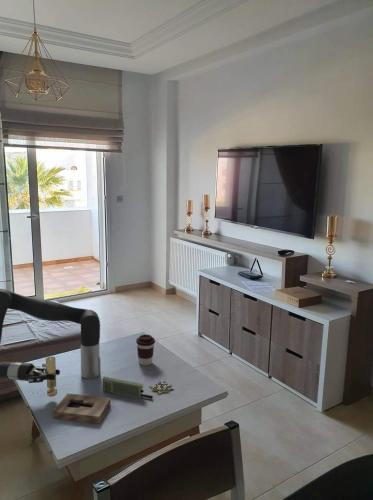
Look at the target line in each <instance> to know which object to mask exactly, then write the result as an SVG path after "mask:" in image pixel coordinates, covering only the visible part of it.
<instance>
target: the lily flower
mask: <svg viewBox="0 0 373 500" xmlns="http://www.w3.org/2000/svg"><path fill="white" fill-rule="evenodd" d="M162 382H163V383H166V384H161V383H162ZM156 383H158V385H161V386H160V388H161V390H159V389H160V388H159V389H157V388H158V387H157V386H158V385H157V384H154V385H156V387H154V388H152V387H150V388H151V389H152V390H151V391H152V392H155V391H156V393H157V395H160V394H163V393H167V392H168V393H167V394H169V391H170V390H169V389H168V387H171V386H167V385H168V384H169V383H167V381H166V380H164V381H159V382H156ZM162 385H166V386H167V388H166V389H165V390H164V389H163V388H164V387H163V386H162ZM158 391H160V392H161V391H164V392H161V393H160V394H159V392H158ZM166 391H167V392H166Z"/></svg>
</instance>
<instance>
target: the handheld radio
mask: <svg viewBox="0 0 373 500" xmlns="http://www.w3.org/2000/svg"><path fill="white" fill-rule="evenodd" d="M144 385H145V384H143V383H140V382H139V383H138V382H134V381H130V380H124V379H120V378H115V377H114V378H113V377H108V376H103V377H102V391H103V392H109V393H113V394H118V395H122V396H126V397H132V398H136V397H137V398H136V399H141V398H147V399H151V400H152V399H153V398H154V396H153V395H149V394H145V393H144V392H145V390H144Z"/></svg>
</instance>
